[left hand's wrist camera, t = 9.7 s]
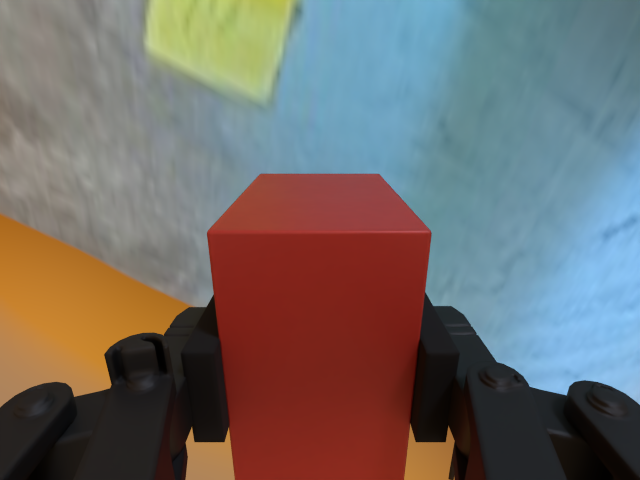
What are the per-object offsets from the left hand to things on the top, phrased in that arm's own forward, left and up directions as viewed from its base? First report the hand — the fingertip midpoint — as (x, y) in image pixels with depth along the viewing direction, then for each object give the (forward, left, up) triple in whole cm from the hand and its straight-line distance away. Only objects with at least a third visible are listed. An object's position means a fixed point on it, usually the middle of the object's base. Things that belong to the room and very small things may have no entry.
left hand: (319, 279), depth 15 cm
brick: (0, 0, -1) cm, 1 cm away
